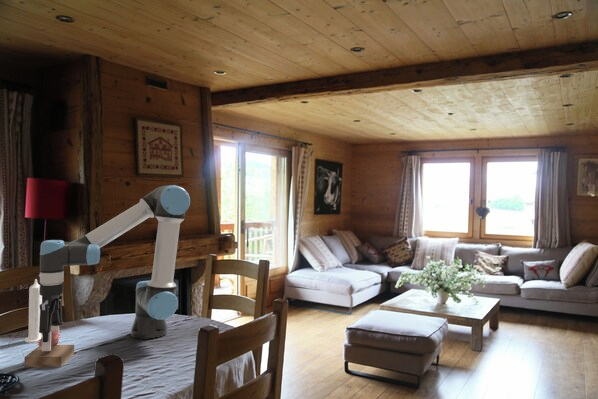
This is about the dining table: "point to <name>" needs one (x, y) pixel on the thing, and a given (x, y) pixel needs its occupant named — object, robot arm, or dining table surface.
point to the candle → (34, 313)
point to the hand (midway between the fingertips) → (50, 346)
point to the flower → (52, 339)
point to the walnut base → (49, 356)
